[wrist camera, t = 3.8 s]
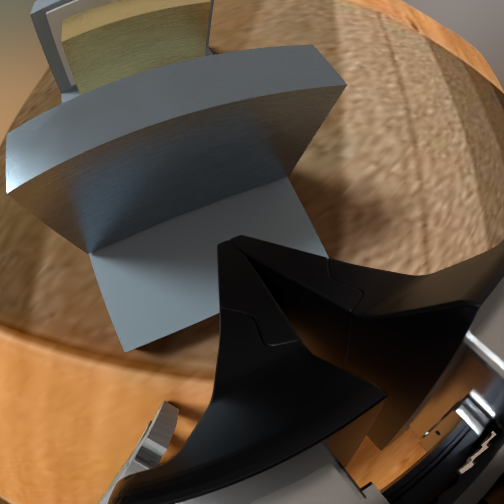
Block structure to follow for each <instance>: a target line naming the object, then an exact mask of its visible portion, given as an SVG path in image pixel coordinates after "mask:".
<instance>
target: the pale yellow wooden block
mask: <svg viewBox="0 0 504 504" xmlns="http://www.w3.org/2000/svg"><path fill="white" fill-rule="evenodd" d="M210 6H211V1H210V0H117V1H114V2H111V3H107V4H104V5H101V6H98V7H95V8H92V9H90V10H87V11H84V12H82V13H79V14H76V15H74V16H71V17H69V18H67V19H64V20H63V22H62V37H61V43H62V46H63V49H64V52H65V55H66V58H67V61H68V63H69V66H70V69H71V72H72V74H73V77H74V80H75V82H76V85H77V88H78V90H79V93H80V95H82V94H84V93H87V92H89V91H91V90H94V89H96V88H99V87H101V86H104V85H107V84H109V83H112V82H115V81H117V80H120V79H123V78H126V77H129V76H132V75H135V74H138V73H141V72H145V71H148V70H151V69H155V68H158V67H162V66H166V65H170V64H174V63H178V62H182V61H186V60H190V59H195V58H200V57H205V51H206V41H207V31H208V23H209V14H210Z"/></svg>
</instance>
